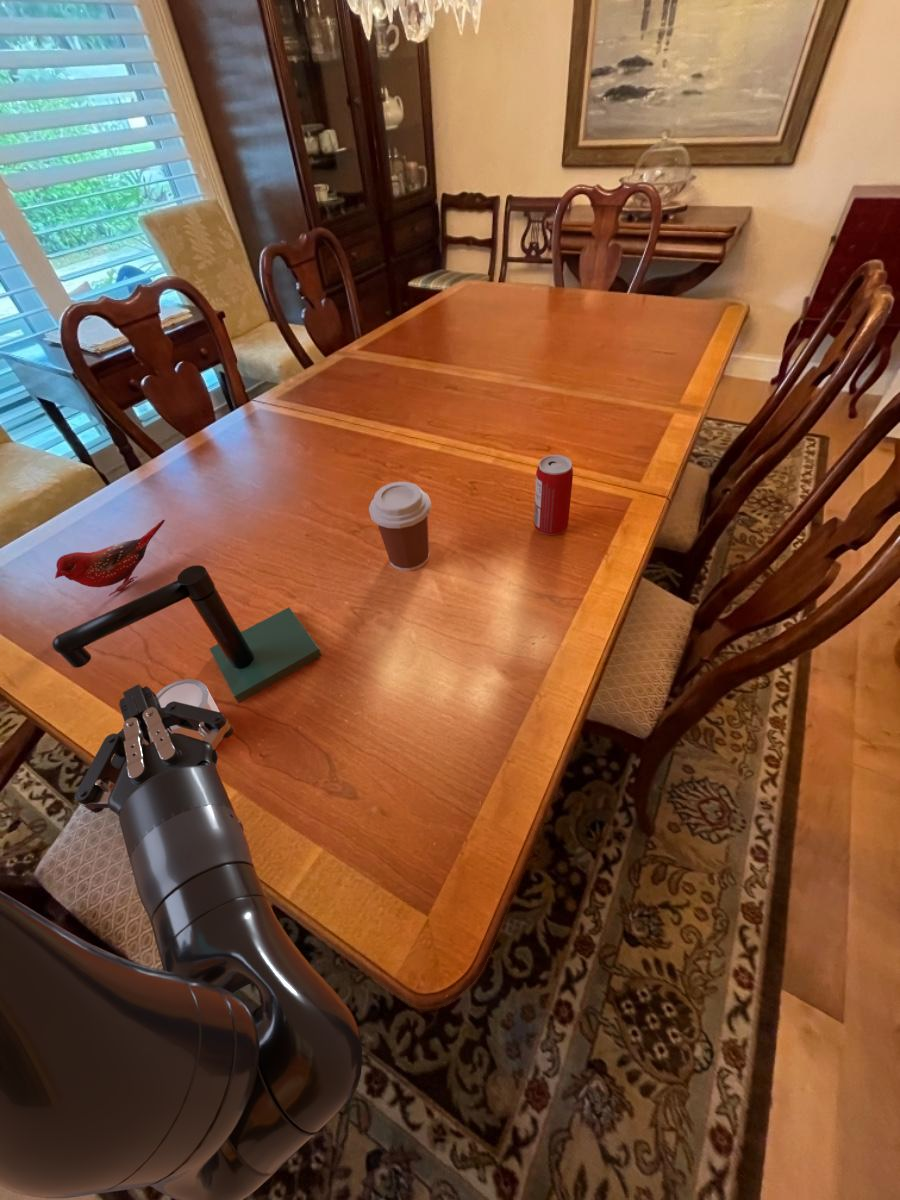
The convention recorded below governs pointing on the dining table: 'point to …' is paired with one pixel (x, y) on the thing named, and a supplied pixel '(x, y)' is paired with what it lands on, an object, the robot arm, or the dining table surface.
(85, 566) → the decorative bird figurine
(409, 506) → the coffee cup
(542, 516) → the soda can
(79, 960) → the robot arm
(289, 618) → the faucet
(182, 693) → the shot glass
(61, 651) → the spout
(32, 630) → the dining table surface
